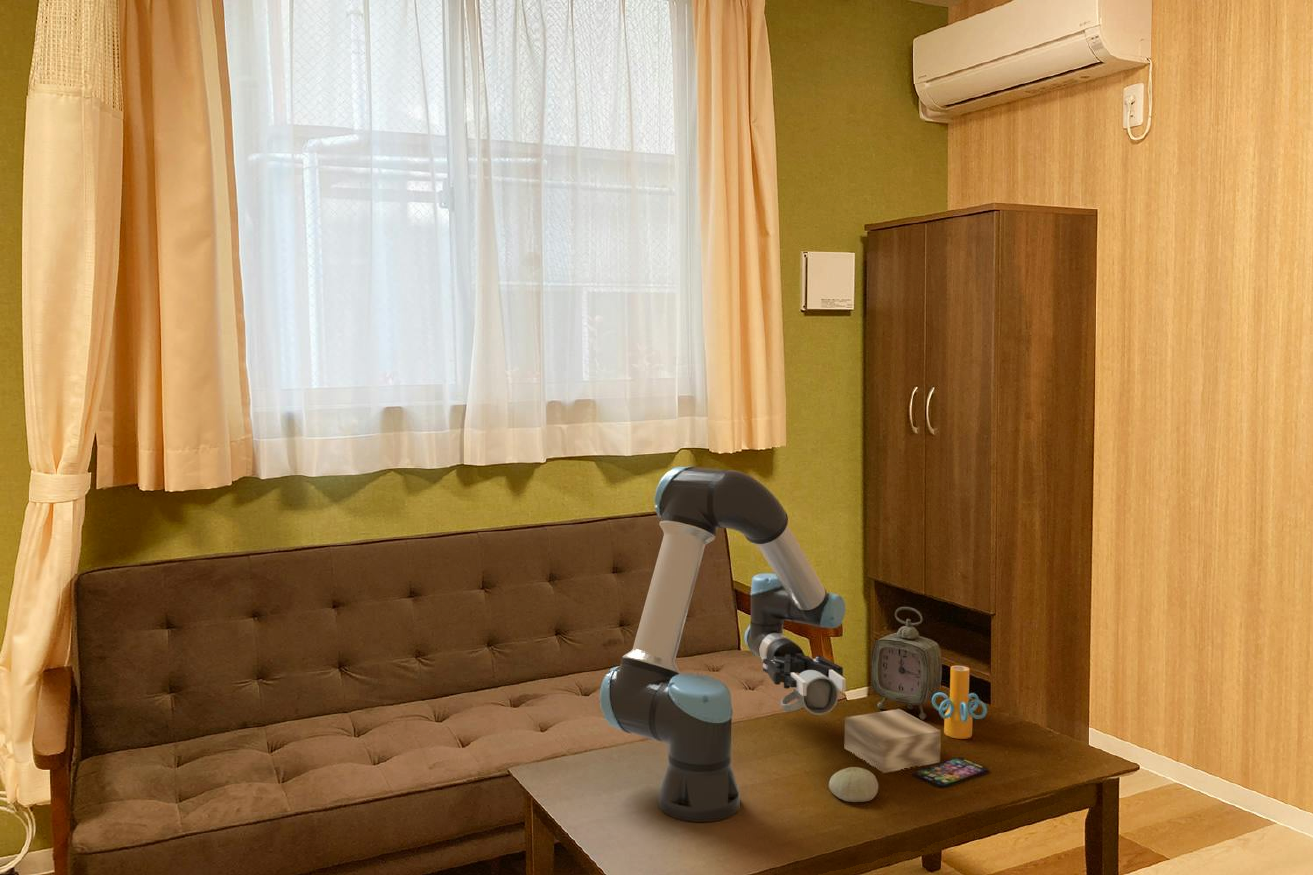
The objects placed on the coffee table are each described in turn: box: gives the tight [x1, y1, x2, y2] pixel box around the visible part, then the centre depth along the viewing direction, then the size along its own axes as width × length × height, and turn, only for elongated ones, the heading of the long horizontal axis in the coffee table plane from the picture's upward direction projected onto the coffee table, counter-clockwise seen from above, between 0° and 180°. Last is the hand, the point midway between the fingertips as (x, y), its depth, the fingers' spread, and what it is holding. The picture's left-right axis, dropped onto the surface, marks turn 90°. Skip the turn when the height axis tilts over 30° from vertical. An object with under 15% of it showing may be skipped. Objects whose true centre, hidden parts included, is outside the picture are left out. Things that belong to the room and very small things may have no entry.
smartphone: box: [912, 756, 990, 789], centre depth 206 cm, size 8×1×15 cm
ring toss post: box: [931, 665, 988, 740], centre depth 227 cm, size 12×10×15 cm
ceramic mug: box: [780, 670, 839, 716], centre depth 209 cm, size 11×8×8 cm
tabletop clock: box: [870, 606, 943, 721], centre depth 241 cm, size 14×9×25 cm, turn 50°
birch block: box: [843, 708, 942, 774], centre depth 215 cm, size 14×14×7 cm
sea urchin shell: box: [828, 766, 879, 803], centre depth 196 cm, size 9×8×8 cm
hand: (824, 687), depth 204 cm, fingers closed on ceramic mug, 8 cm apart
